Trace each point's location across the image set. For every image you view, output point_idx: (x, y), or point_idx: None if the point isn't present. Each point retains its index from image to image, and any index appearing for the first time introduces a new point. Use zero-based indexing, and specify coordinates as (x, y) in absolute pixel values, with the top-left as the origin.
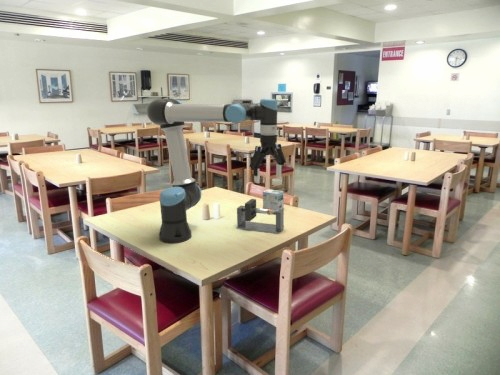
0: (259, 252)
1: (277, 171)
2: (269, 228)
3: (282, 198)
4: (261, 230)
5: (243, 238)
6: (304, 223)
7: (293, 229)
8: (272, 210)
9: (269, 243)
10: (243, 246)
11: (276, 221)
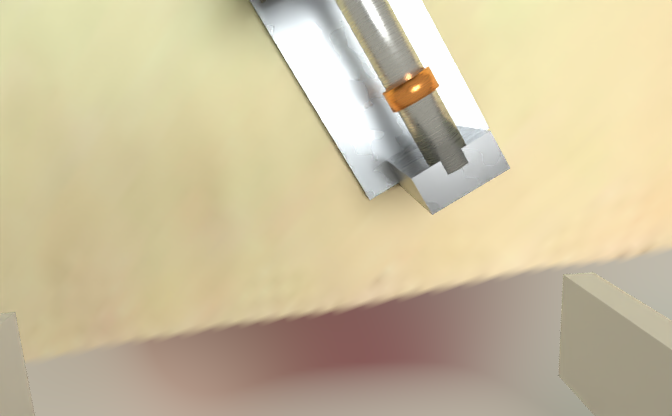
0: (100, 345)
1: (648, 375)
2: (373, 107)
3: None
4: (308, 97)
5: (139, 116)
6: (636, 164)
7: (498, 201)
8: (420, 123)
9: (225, 283)
10: (68, 223)
11: (399, 171)
